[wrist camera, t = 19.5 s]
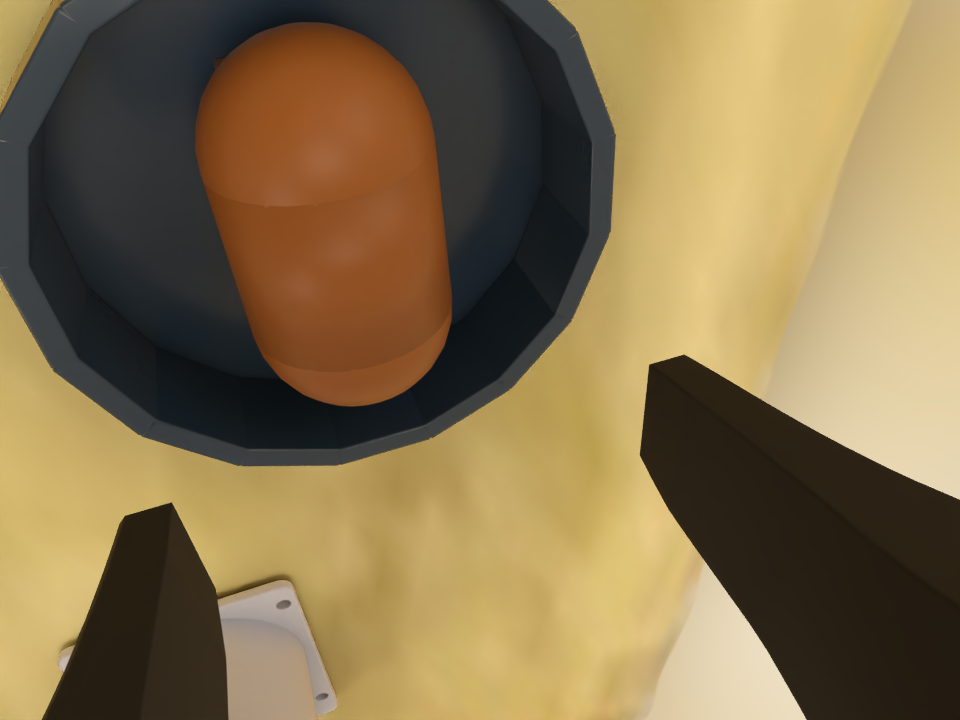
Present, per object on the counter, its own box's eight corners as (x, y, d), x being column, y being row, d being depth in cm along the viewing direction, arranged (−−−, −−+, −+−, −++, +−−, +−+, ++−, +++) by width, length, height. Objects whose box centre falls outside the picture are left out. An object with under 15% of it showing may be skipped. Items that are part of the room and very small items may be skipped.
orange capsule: (430, 308, 22) (485, 415, 18) (264, 350, 21) (289, 472, 17) (387, -22, 16) (454, 42, 13) (158, 14, 15) (161, 94, 12)
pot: (556, 324, 25) (602, 389, 22) (139, 436, 22) (138, 525, 19) (556, -159, 16) (631, -142, 14) (-120, -76, 13) (-179, -36, 11)
